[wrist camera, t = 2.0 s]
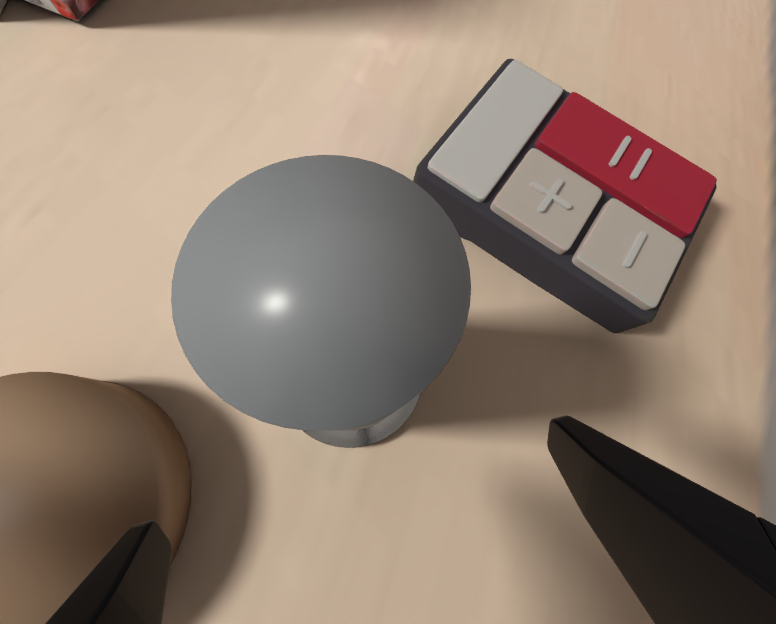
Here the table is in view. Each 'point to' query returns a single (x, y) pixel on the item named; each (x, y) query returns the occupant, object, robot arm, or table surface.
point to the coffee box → (2, 4)
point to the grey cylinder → (322, 296)
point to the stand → (78, 483)
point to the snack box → (66, 7)
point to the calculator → (568, 195)
